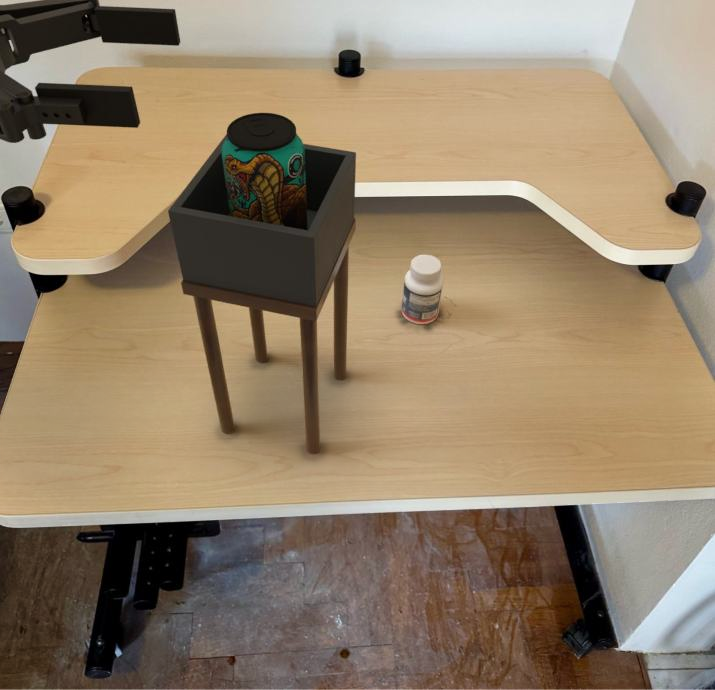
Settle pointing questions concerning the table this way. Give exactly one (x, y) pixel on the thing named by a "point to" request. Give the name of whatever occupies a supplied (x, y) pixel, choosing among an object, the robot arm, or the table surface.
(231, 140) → the beverage can
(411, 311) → the pill bottle
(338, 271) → the stool
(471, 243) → the table surface
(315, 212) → the trash bin
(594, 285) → the table surface
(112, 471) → the table surface
